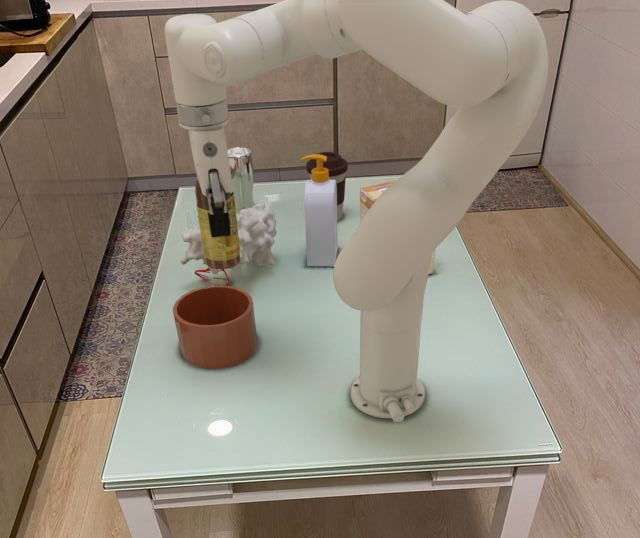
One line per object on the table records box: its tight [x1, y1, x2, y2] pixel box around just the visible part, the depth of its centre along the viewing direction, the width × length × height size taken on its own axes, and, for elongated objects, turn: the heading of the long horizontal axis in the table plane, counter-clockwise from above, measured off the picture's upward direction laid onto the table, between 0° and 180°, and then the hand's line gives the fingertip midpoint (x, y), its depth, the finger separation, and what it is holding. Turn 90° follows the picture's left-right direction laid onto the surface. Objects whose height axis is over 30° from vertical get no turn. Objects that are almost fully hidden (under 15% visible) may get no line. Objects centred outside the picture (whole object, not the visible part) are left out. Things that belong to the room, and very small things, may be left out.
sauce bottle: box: [194, 148, 240, 270], centre depth 109 cm, size 7×6×20 cm
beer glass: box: [227, 146, 256, 214], centre depth 169 cm, size 7×7×15 cm
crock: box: [172, 284, 258, 370], centre depth 125 cm, size 14×14×9 cm
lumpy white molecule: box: [180, 203, 278, 286], centre depth 142 cm, size 20×18×25 cm
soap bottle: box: [300, 153, 339, 267], centre depth 145 cm, size 9×7×23 cm
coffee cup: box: [306, 151, 349, 221], centre depth 165 cm, size 10×10×15 cm
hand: (218, 225), depth 111 cm, fingers closed on sauce bottle, 6 cm apart
